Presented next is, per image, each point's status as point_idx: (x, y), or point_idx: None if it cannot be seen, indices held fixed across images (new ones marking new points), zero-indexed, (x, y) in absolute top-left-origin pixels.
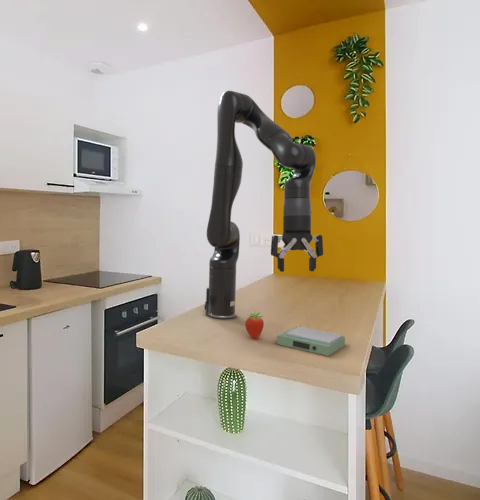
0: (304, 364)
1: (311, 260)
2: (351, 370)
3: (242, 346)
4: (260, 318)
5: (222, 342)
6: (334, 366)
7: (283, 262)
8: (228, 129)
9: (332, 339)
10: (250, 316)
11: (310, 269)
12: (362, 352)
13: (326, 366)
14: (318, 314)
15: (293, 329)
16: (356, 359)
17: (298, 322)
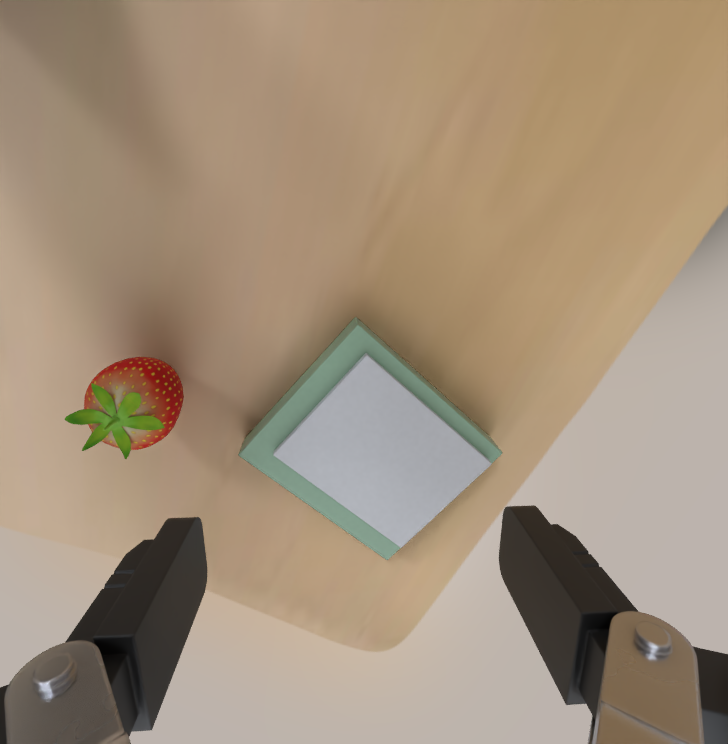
0: (287, 602)
1: (553, 665)
2: (398, 626)
3: (109, 472)
4: (149, 433)
5: (26, 433)
6: (366, 606)
7: (162, 675)
8: None
9: (425, 519)
10: (96, 405)
11: (506, 550)
12: (510, 497)
13: (344, 609)
14: None
15: (321, 403)
16: (456, 554)
17: (454, 57)
